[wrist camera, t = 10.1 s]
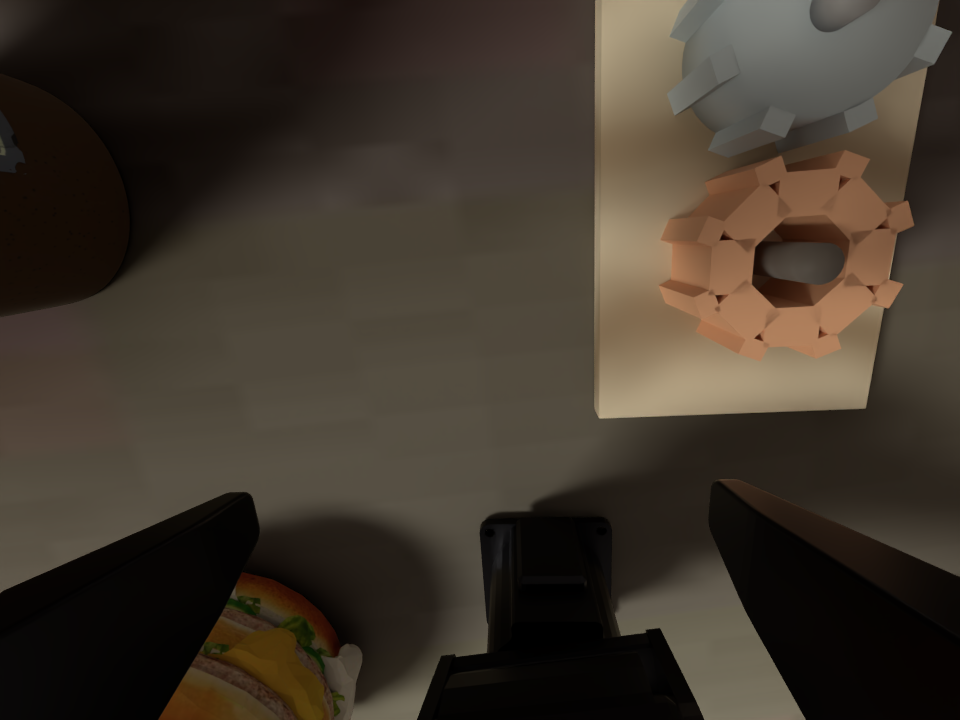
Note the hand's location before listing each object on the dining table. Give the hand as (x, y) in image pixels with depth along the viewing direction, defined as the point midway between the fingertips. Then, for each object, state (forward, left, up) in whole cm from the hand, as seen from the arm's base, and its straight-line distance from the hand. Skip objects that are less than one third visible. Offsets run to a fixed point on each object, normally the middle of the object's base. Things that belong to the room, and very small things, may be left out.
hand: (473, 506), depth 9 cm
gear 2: (+4, -10, -11) cm, 15 cm away
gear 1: (+10, -10, -11) cm, 18 cm away
